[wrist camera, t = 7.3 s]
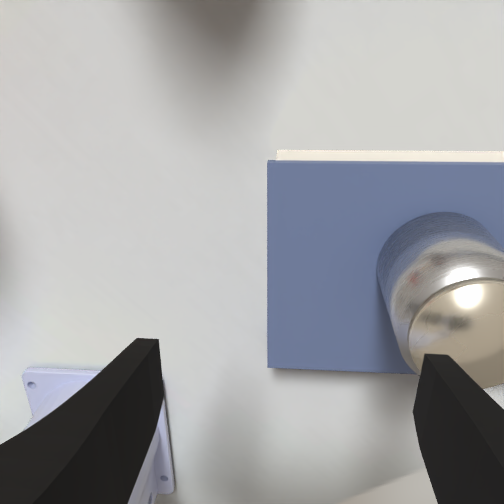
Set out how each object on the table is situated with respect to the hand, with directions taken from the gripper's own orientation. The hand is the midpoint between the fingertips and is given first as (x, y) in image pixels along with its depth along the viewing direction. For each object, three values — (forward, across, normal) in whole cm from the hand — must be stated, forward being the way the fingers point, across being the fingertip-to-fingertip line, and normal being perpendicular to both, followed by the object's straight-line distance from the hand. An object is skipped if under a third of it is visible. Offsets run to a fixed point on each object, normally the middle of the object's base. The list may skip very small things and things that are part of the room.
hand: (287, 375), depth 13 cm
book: (+11, -6, +1) cm, 13 cm away
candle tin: (+8, -6, 0) cm, 10 cm away
